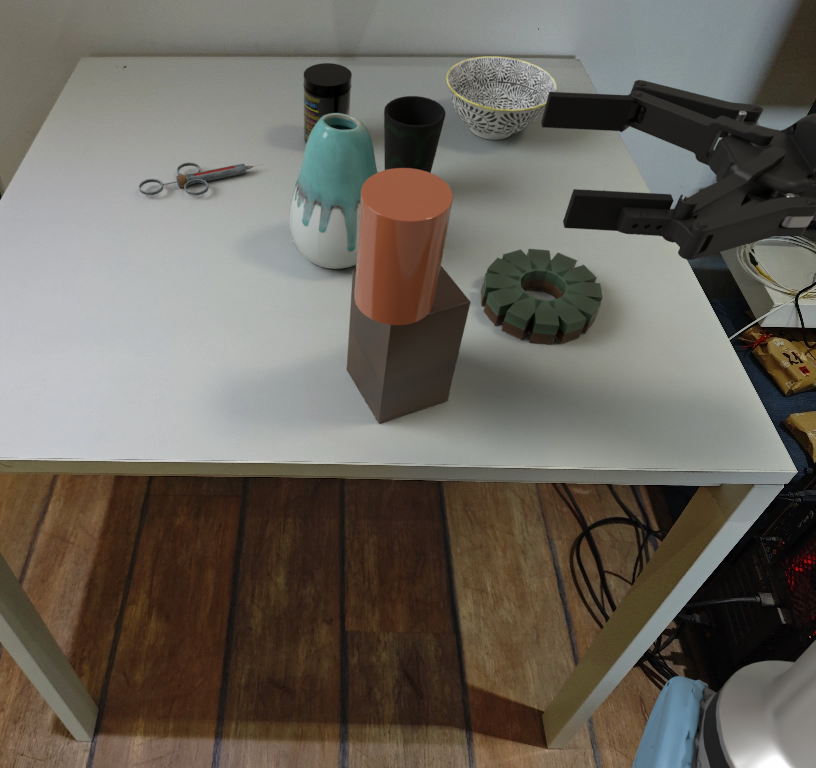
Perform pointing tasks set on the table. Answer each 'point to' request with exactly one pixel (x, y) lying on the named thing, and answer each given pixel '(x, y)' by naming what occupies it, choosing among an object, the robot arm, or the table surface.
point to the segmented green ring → (528, 313)
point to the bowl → (498, 94)
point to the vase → (331, 191)
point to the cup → (412, 132)
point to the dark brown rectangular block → (407, 354)
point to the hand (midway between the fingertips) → (555, 155)
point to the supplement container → (325, 93)
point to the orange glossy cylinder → (400, 244)
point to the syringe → (198, 177)
